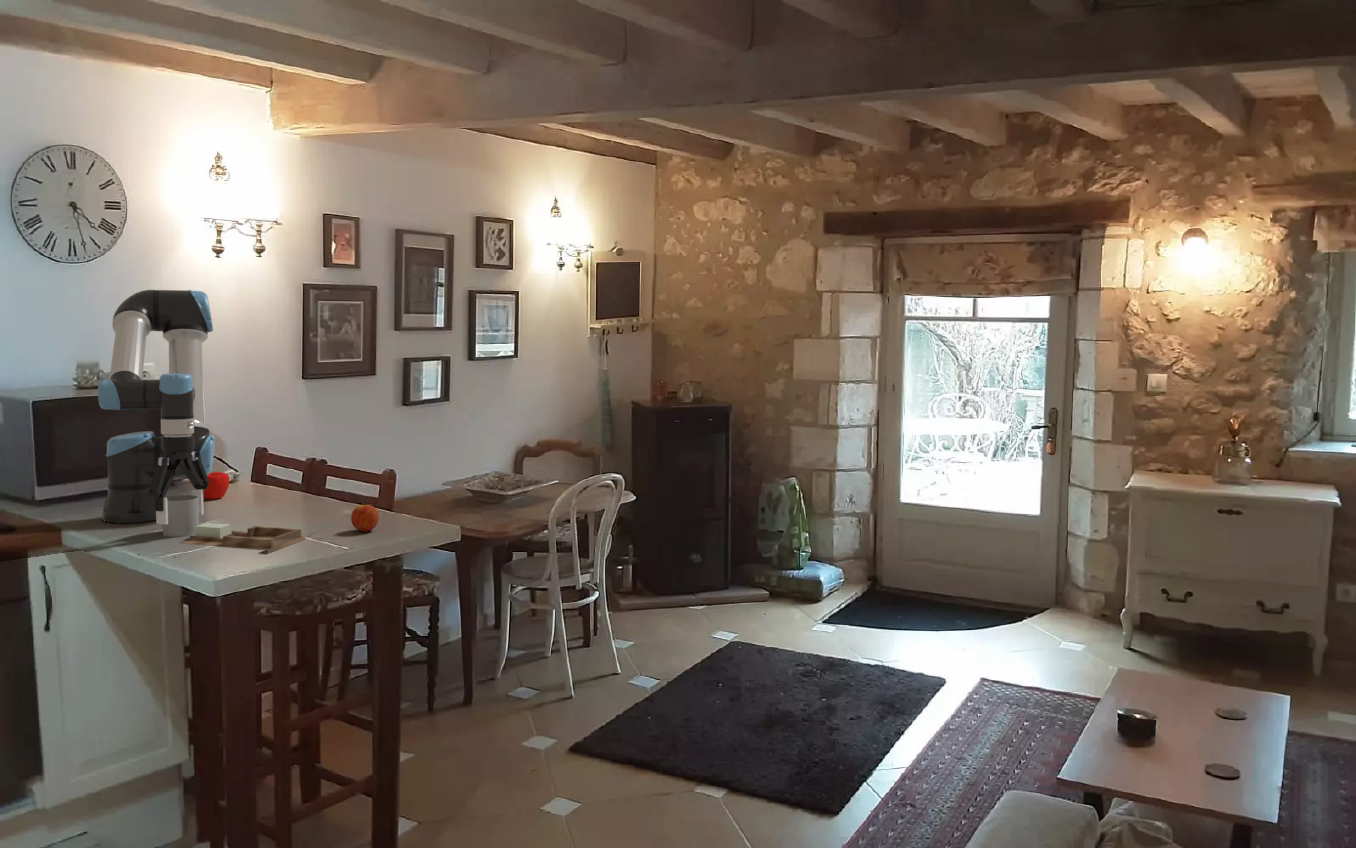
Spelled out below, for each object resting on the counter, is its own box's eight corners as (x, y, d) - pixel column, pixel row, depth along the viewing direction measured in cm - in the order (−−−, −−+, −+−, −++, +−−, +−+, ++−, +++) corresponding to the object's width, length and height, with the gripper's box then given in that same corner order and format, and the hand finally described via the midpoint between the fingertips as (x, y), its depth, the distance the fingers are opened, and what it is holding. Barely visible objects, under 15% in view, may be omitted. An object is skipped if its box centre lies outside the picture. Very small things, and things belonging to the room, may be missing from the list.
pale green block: (195, 538, 269) (194, 526, 268) (206, 534, 273) (206, 522, 273) (220, 540, 267) (219, 528, 267) (231, 536, 272) (231, 524, 271)
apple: (222, 501, 322) (221, 475, 321) (192, 501, 322) (192, 475, 321) (235, 496, 331) (234, 471, 330) (206, 495, 331) (205, 470, 330)
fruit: (350, 529, 287) (349, 499, 286) (377, 527, 290) (376, 498, 289) (352, 534, 281) (352, 504, 280) (380, 533, 283) (379, 502, 283)
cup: (175, 542, 269) (174, 502, 268) (156, 537, 273) (154, 498, 272) (206, 536, 276) (205, 497, 275) (186, 532, 280) (185, 493, 279)
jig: (179, 547, 263) (178, 535, 263) (220, 533, 279) (220, 522, 279) (267, 553, 258) (267, 541, 258) (304, 539, 274) (304, 528, 273)
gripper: (156, 441, 259) (159, 529, 261) (222, 431, 283) (224, 511, 285) (129, 440, 260) (132, 527, 262) (197, 430, 285) (199, 510, 287)
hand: (180, 519), depth 274 cm, fingers open, 13 cm apart
